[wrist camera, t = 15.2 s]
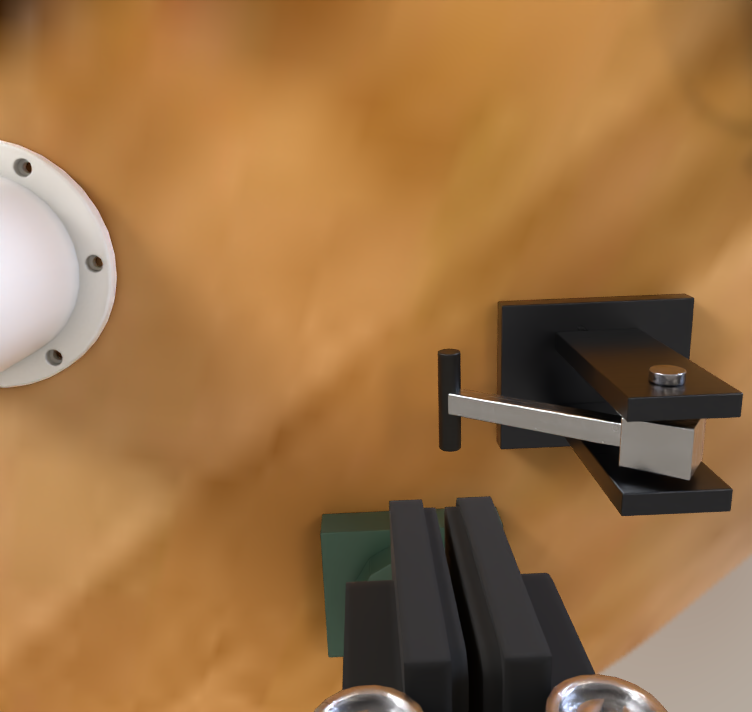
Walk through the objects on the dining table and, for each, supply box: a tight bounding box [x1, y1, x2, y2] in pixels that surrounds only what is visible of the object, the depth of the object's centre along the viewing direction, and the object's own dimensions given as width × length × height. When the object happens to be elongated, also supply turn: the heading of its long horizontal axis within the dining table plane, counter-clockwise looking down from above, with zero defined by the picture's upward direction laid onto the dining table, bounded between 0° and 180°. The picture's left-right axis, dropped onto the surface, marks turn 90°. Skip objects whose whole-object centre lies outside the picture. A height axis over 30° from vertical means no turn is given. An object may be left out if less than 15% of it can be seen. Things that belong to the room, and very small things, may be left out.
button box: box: [320, 507, 503, 657], centre depth 41 cm, size 10×8×4 cm
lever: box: [438, 349, 706, 480], centre depth 32 cm, size 12×5×2 cm
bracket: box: [497, 294, 743, 516], centre depth 34 cm, size 10×8×12 cm
